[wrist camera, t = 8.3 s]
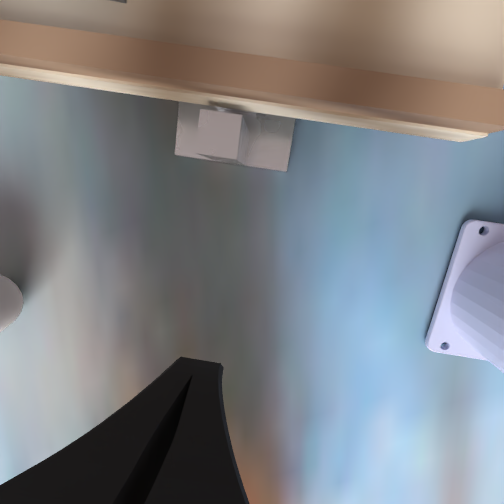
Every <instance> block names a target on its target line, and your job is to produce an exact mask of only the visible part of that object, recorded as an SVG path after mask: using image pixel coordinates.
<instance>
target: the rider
mask: <svg viewBox="0 0 504 504" xmlns="http://www.w3.org/2000/svg"><path fill="white" fill-rule="evenodd" d="M110 1H116V2H121V3H127V0H110Z"/></svg>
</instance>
